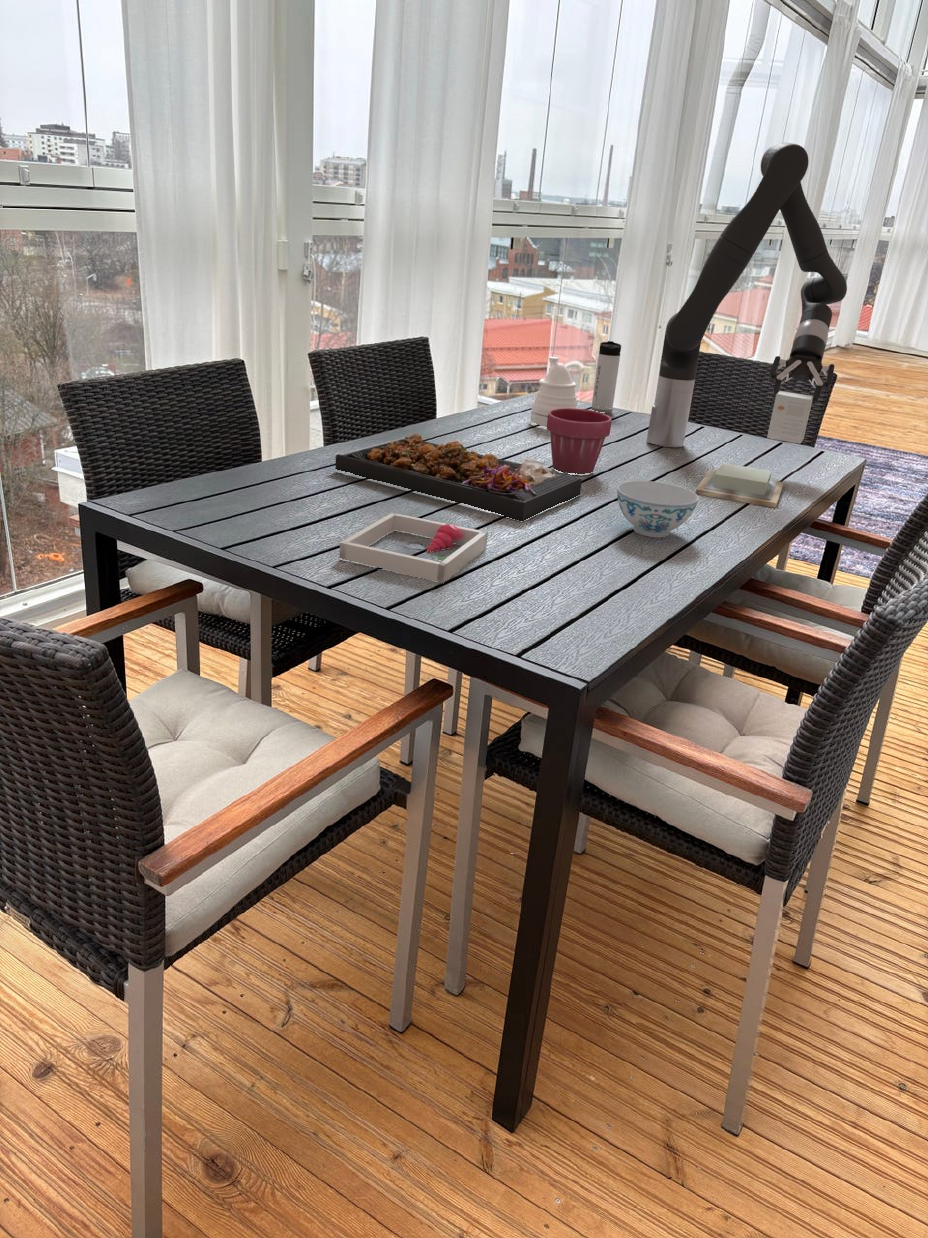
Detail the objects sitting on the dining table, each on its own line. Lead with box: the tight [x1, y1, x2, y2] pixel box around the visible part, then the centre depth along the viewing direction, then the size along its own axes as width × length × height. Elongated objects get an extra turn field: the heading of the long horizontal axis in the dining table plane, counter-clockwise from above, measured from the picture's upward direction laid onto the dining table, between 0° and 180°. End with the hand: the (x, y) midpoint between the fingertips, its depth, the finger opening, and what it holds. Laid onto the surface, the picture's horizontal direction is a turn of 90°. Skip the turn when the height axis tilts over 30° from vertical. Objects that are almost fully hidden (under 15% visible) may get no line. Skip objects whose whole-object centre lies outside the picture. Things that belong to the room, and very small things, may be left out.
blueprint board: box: [694, 469, 785, 509], centre depth 212 cm, size 17×20×1 cm
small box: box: [766, 390, 814, 445], centre depth 223 cm, size 8×6×10 cm
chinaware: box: [616, 480, 700, 538], centre depth 177 cm, size 15×15×8 cm
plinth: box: [713, 462, 773, 495], centre depth 211 cm, size 11×12×3 cm
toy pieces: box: [414, 523, 463, 561], centre depth 158 cm, size 12×11×4 cm
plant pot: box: [547, 408, 613, 474], centre depth 213 cm, size 14×14×13 cm
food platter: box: [335, 433, 583, 522], centre depth 196 cm, size 45×25×10 cm, turn 58°
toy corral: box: [338, 512, 489, 584], centre depth 156 cm, size 18×19×3 cm
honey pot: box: [529, 356, 580, 427], centre depth 256 cm, size 13×13×18 cm
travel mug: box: [590, 340, 622, 414], centre depth 279 cm, size 6×7×20 cm
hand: (795, 398), depth 223 cm, fingers closed on small box, 8 cm apart
